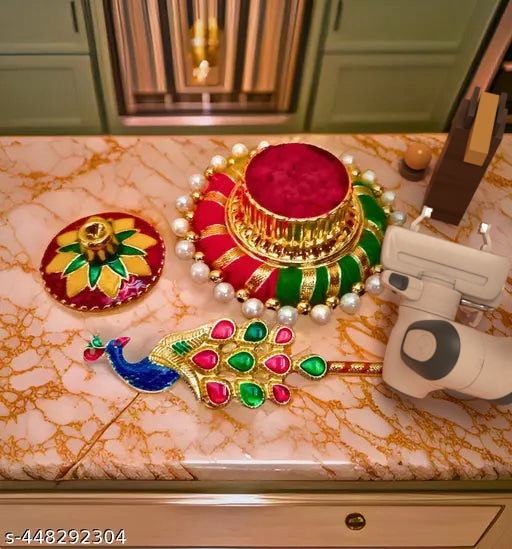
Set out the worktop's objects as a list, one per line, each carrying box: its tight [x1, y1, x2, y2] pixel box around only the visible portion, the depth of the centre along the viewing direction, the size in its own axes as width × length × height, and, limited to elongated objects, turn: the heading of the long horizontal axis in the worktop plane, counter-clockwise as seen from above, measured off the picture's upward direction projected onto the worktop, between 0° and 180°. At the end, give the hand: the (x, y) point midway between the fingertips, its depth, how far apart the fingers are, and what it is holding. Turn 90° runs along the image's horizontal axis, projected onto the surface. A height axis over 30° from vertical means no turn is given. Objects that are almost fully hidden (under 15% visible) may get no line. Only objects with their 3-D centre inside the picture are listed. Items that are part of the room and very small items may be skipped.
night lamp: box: [398, 142, 433, 182], centre depth 123 cm, size 6×6×7 cm
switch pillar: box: [419, 85, 509, 227], centre depth 109 cm, size 8×8×27 cm
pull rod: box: [464, 91, 500, 166], centre depth 97 cm, size 15×3×3 cm, turn 160°
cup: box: [458, 283, 506, 328], centre depth 103 cm, size 7×10×8 cm
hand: (456, 215), depth 94 cm, fingers open, 8 cm apart
